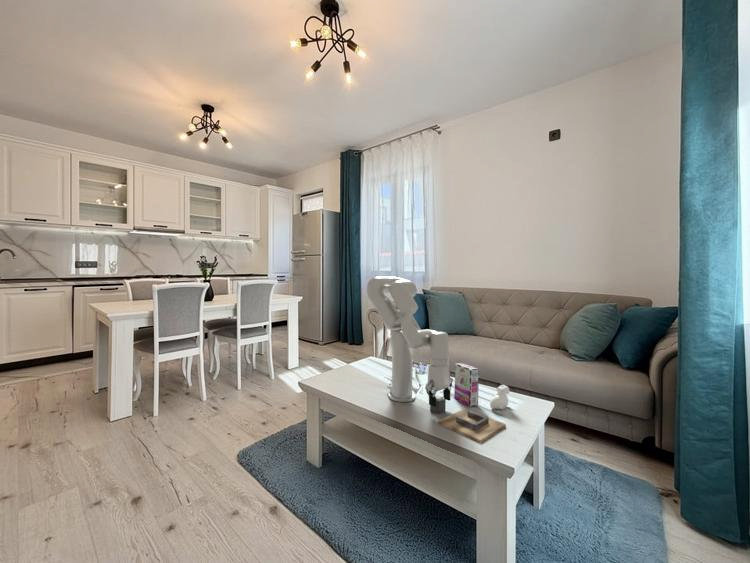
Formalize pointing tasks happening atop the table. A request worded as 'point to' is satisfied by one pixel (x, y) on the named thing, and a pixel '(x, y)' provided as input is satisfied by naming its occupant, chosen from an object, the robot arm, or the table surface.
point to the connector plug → (439, 405)
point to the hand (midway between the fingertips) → (439, 402)
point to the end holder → (472, 425)
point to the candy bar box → (466, 384)
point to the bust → (500, 398)
